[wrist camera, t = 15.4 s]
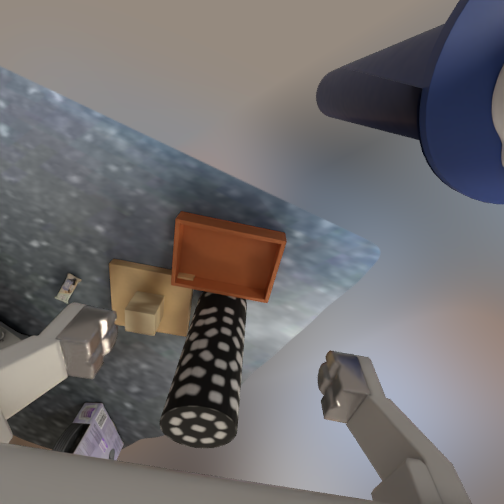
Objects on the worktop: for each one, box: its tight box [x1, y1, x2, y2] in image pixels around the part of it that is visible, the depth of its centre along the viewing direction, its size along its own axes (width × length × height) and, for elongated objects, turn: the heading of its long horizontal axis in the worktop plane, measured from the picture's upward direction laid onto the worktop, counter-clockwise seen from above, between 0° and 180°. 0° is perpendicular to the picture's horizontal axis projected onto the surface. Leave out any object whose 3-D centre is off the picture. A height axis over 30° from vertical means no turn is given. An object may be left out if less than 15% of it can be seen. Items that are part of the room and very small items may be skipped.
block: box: [125, 291, 164, 336], centre depth 43 cm, size 4×4×4 cm
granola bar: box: [54, 273, 81, 304], centre depth 45 cm, size 7×2×1 cm, turn 141°
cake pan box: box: [52, 402, 124, 460], centre depth 58 cm, size 19×5×18 cm, turn 2°
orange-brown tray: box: [171, 211, 286, 303], centre depth 40 cm, size 15×11×3 cm
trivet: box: [109, 259, 195, 337], centre depth 45 cm, size 13×13×2 cm
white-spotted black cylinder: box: [160, 291, 247, 448], centre depth 37 cm, size 8×8×20 cm
